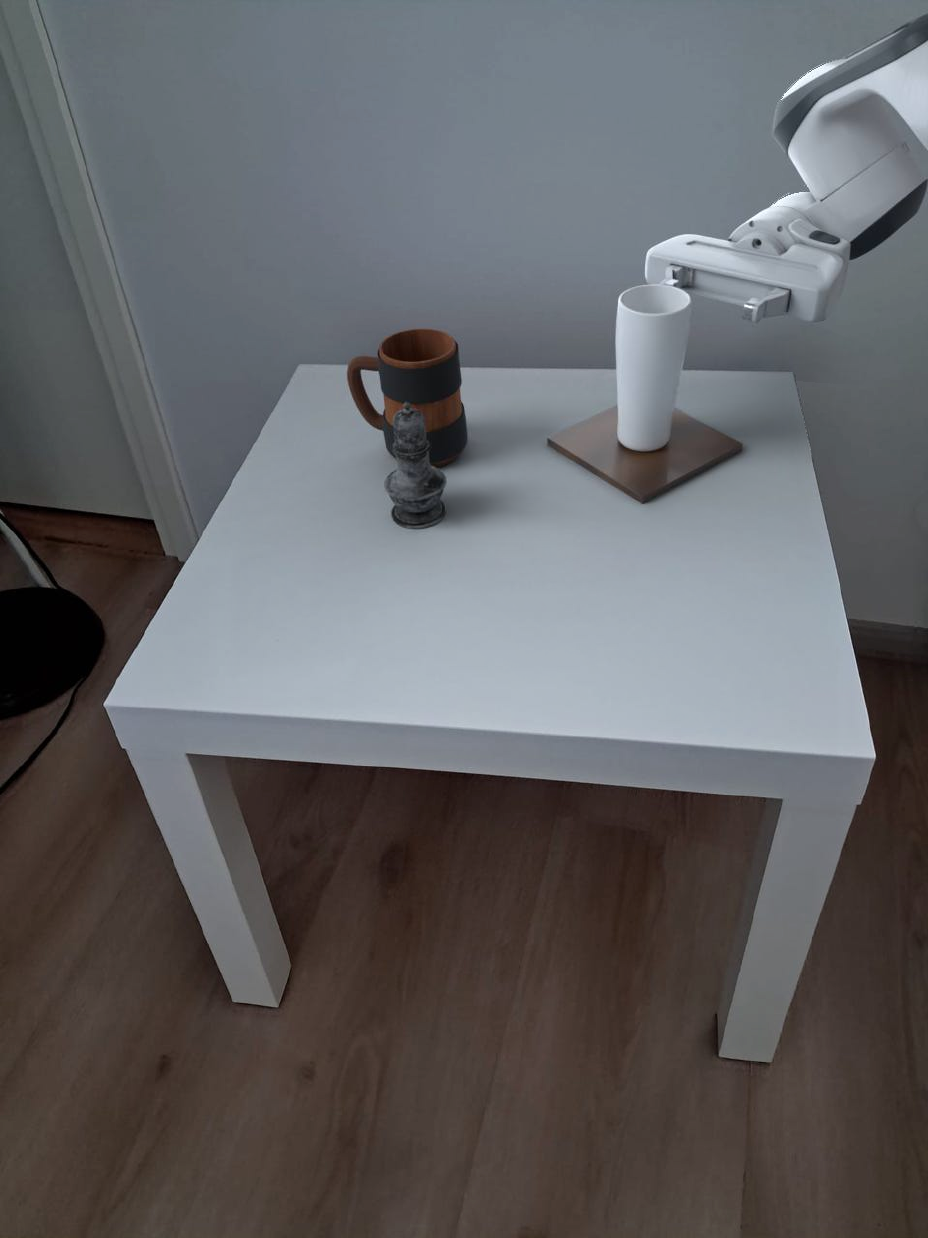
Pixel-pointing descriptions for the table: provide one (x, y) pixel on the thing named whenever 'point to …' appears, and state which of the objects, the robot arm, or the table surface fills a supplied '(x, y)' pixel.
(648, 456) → the walnut board
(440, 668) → the table surface
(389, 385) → the mug
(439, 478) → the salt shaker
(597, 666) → the table surface
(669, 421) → the drinking glass
